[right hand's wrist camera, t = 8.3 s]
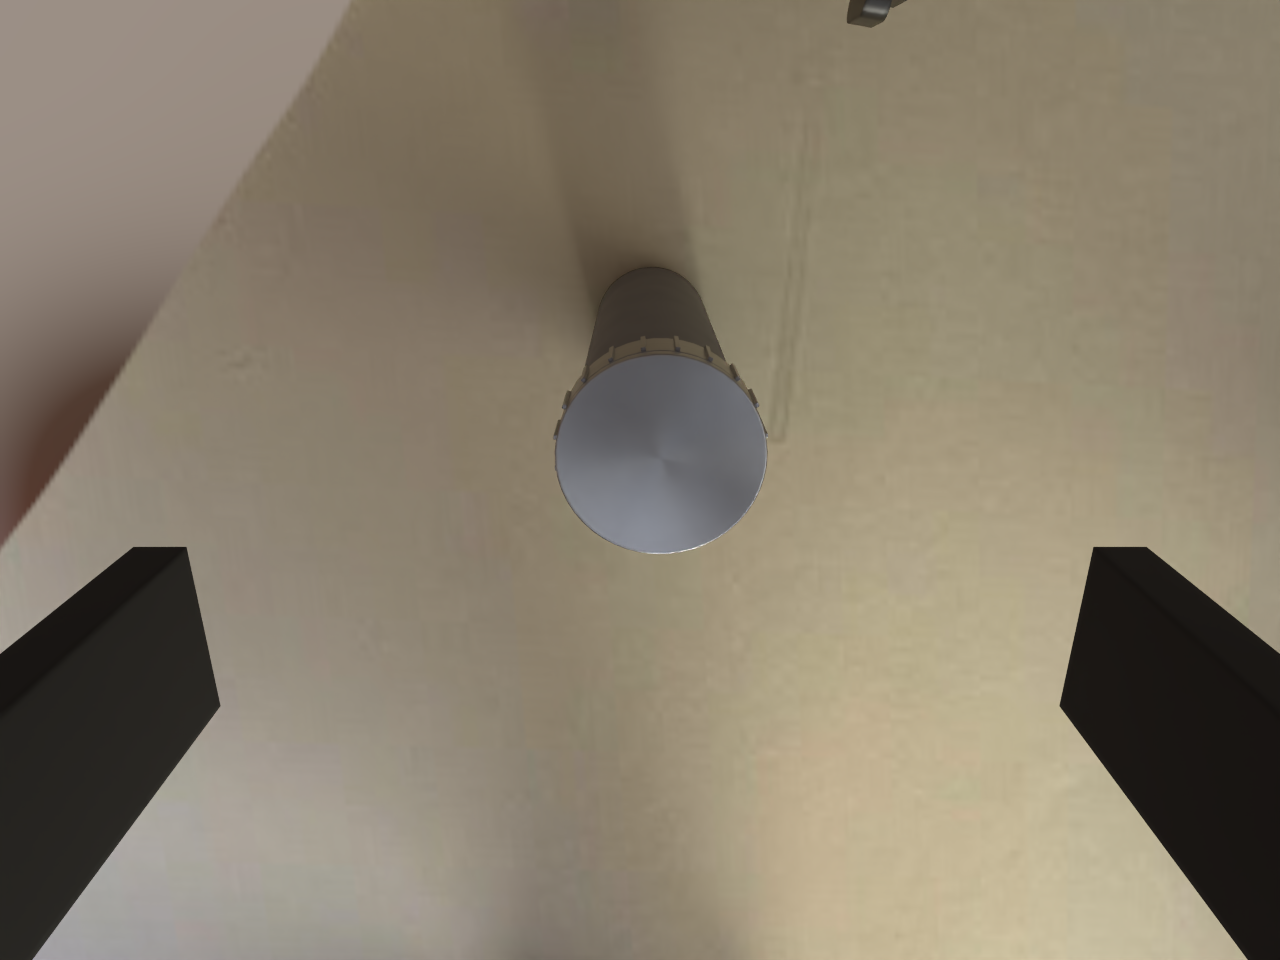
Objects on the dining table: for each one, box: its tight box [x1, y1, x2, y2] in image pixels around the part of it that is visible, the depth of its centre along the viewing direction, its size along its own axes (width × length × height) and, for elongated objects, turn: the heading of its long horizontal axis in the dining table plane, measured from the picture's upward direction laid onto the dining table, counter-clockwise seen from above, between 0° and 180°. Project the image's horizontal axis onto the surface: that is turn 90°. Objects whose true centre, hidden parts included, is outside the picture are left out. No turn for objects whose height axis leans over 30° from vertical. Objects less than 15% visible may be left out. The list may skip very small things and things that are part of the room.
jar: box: [585, 267, 726, 367], centre depth 27 cm, size 4×4×15 cm
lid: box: [553, 336, 768, 554], centre depth 20 cm, size 5×5×2 cm
